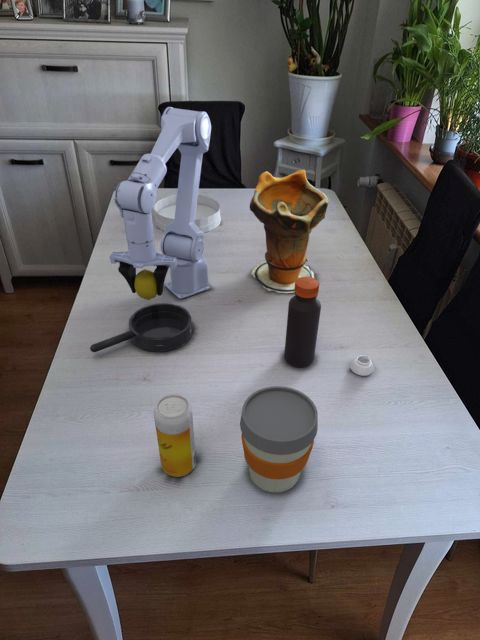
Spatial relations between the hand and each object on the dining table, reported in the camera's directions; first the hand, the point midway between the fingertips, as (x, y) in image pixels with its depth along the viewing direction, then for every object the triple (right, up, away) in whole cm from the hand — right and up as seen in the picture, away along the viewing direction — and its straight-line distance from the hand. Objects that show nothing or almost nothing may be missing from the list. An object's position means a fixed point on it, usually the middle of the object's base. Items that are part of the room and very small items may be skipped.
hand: (147, 292), depth 113 cm
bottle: (+35, -16, -2) cm, 38 cm away
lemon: (0, -2, +1) cm, 2 cm away
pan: (+3, -9, +3) cm, 10 cm away
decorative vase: (+33, +7, +25) cm, 42 cm away
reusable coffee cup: (+29, -35, -26) cm, 52 cm away
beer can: (+12, -34, -26) cm, 45 cm away
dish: (+1, +30, +53) cm, 61 cm away
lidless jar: (+49, -18, -4) cm, 52 cm away
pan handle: (-7, -12, -4) cm, 14 cm away
